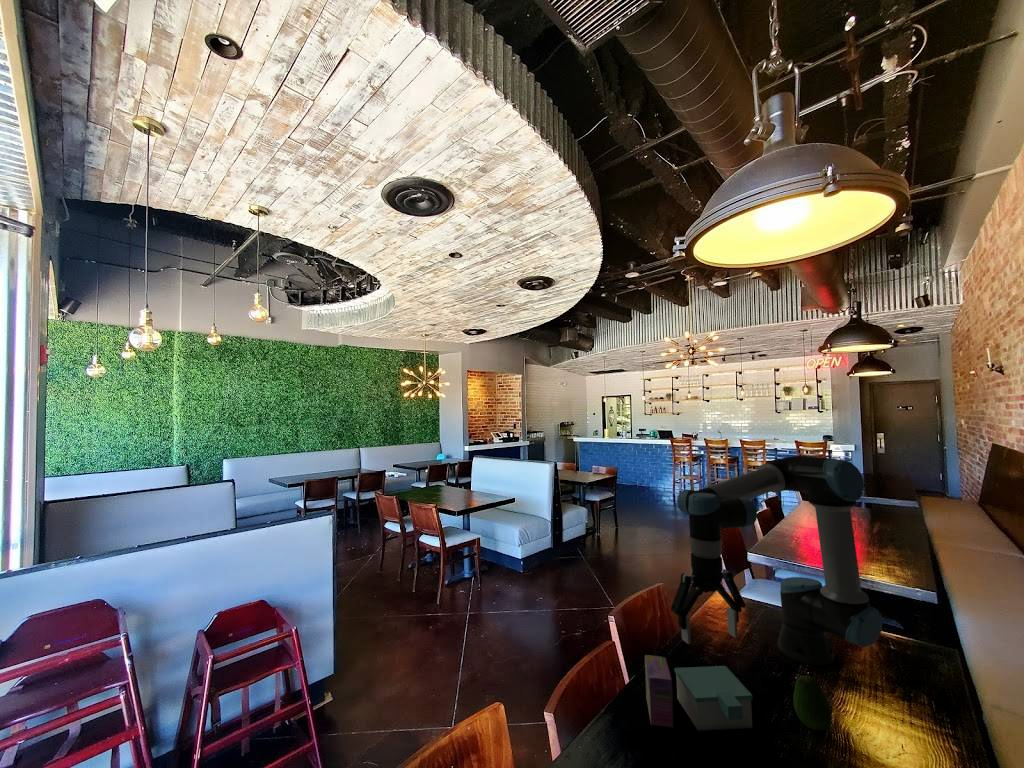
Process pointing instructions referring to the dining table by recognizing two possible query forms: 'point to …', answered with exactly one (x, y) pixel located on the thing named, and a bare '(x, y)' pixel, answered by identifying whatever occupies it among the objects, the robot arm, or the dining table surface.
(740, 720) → the tub
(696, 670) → the lid
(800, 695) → the avocado
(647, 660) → the box
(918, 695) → the dining table surface
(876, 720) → the dining table surface
